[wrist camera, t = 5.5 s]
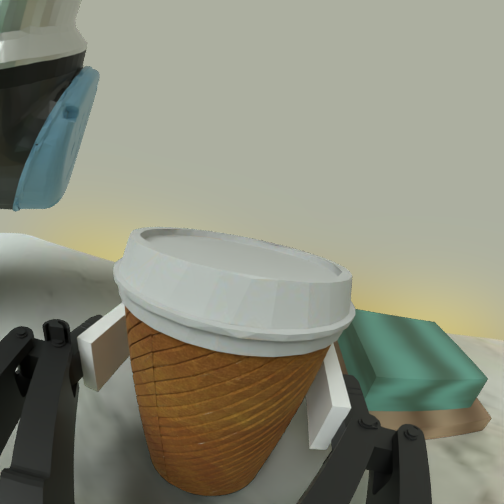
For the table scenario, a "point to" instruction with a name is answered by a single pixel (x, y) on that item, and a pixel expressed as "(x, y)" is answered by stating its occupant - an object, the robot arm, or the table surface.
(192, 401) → the disposable coffee cup
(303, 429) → the table surface
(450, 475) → the table surface
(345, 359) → the display stand
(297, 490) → the table surface
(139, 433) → the table surface
